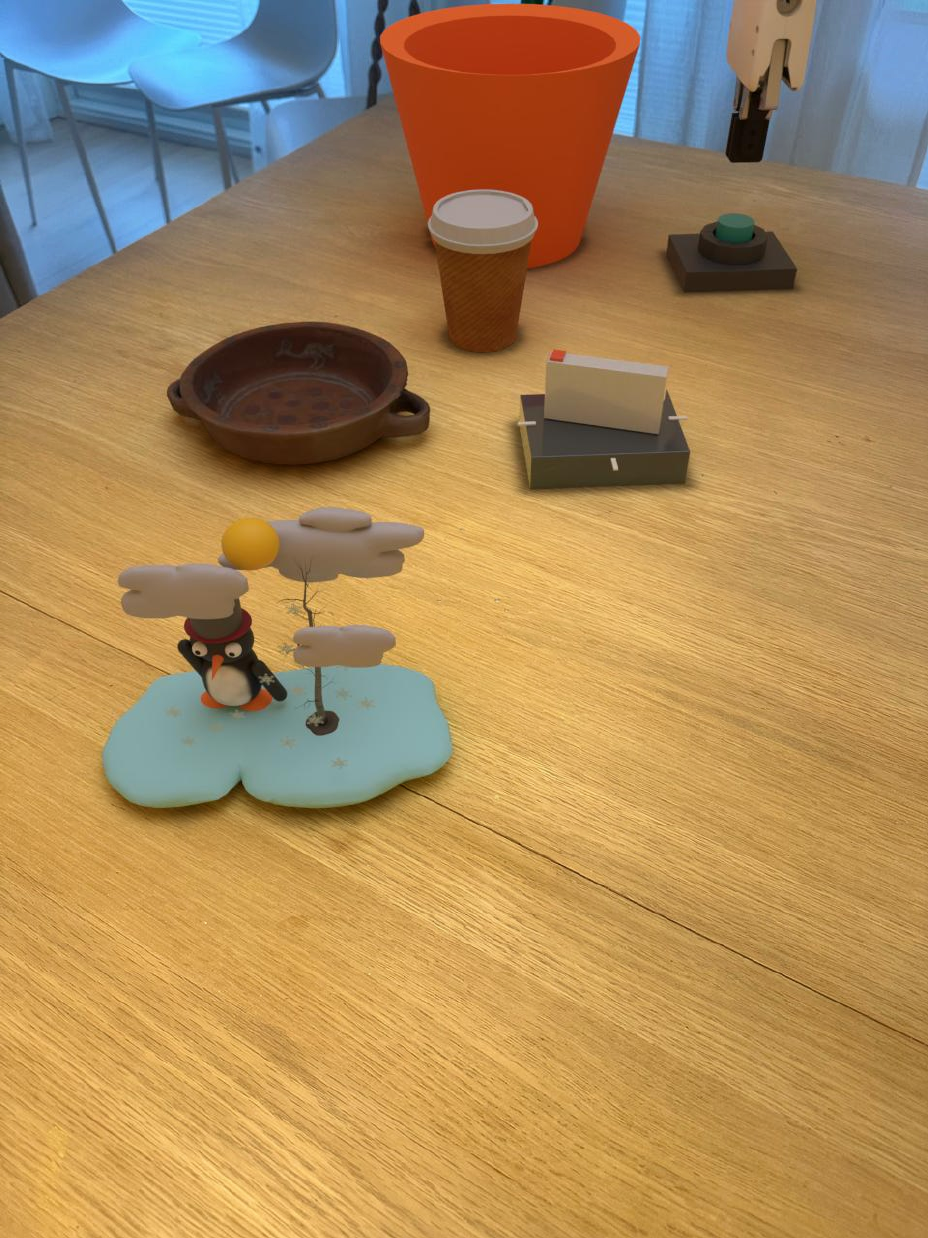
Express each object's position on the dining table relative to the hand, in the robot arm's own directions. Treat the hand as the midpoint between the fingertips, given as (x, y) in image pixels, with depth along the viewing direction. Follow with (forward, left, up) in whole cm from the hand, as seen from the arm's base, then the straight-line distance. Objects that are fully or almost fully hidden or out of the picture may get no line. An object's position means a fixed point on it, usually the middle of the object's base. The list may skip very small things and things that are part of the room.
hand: (743, 158), depth 101 cm
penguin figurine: (+41, +61, -11) cm, 75 cm away
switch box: (0, 0, -11) cm, 11 cm away
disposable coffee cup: (+26, +12, -11) cm, 31 cm away
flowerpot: (+22, -10, -11) cm, 26 cm away
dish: (+42, +26, -11) cm, 51 cm away
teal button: (0, 0, -8) cm, 8 cm away
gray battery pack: (+18, +32, -8) cm, 38 cm away
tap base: (+18, +32, -11) cm, 39 cm away
